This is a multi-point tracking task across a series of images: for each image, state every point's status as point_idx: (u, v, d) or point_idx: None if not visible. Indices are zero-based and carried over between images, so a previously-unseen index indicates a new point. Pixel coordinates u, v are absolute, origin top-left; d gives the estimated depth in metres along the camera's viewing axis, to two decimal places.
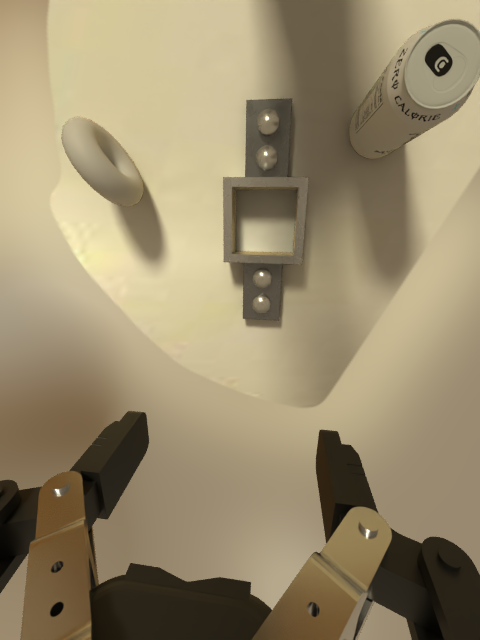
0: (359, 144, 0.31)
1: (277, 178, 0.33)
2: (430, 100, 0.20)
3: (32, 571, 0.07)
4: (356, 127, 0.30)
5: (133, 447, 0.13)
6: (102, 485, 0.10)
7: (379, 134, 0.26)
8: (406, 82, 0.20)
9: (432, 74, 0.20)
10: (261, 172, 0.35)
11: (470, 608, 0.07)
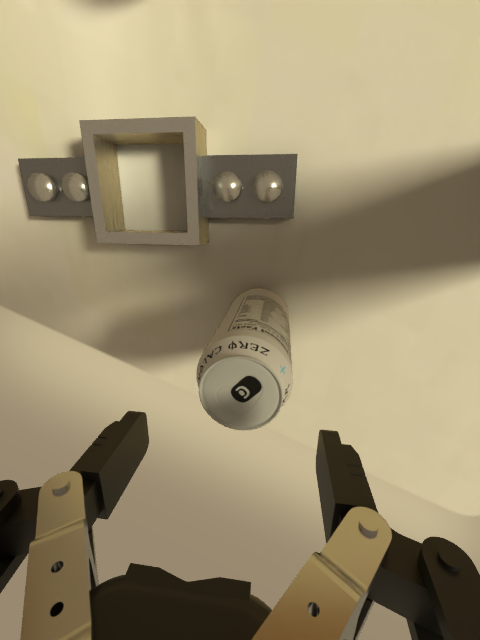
0: (235, 301, 0.27)
1: (196, 203, 0.25)
2: (207, 385, 0.17)
3: (32, 571, 0.07)
4: (248, 297, 0.26)
5: (133, 447, 0.13)
6: (102, 485, 0.10)
7: (219, 325, 0.22)
8: (226, 359, 0.16)
9: (232, 384, 0.17)
10: (211, 180, 0.26)
11: (470, 608, 0.07)
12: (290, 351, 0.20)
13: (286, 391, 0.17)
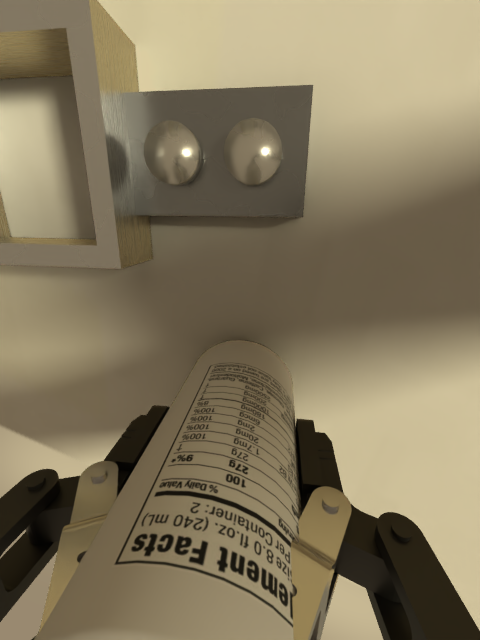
0: (195, 370, 0.15)
1: (108, 185, 0.12)
2: None
3: (61, 556, 0.07)
4: (216, 369, 0.13)
5: None
6: None
7: (140, 460, 0.10)
8: None
9: None
10: (144, 142, 0.13)
11: (422, 573, 0.07)
12: None
13: None
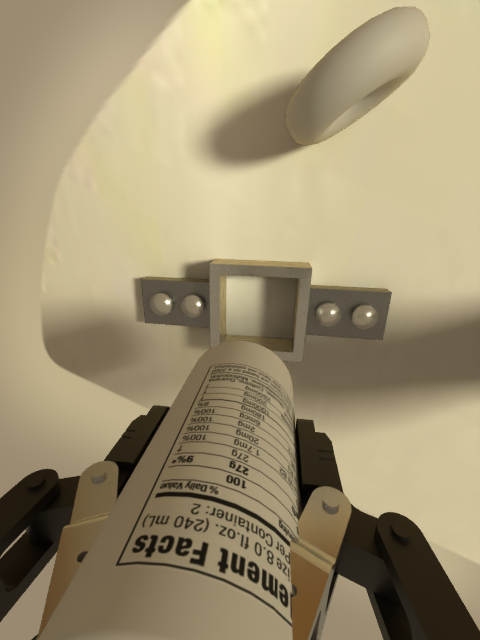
0: (195, 371, 0.15)
1: (304, 330, 0.29)
2: None
3: (61, 556, 0.07)
4: (216, 369, 0.13)
5: None
6: None
7: (140, 461, 0.10)
8: None
9: None
10: (313, 306, 0.30)
11: (422, 573, 0.07)
12: None
13: None
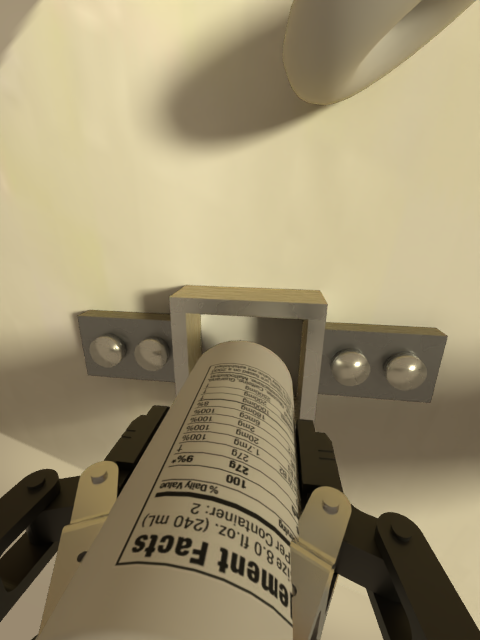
0: (195, 370, 0.15)
1: (315, 395, 0.19)
2: None
3: (61, 556, 0.07)
4: (216, 369, 0.13)
5: None
6: None
7: (140, 460, 0.10)
8: None
9: None
10: (327, 355, 0.20)
11: (422, 573, 0.07)
12: None
13: None
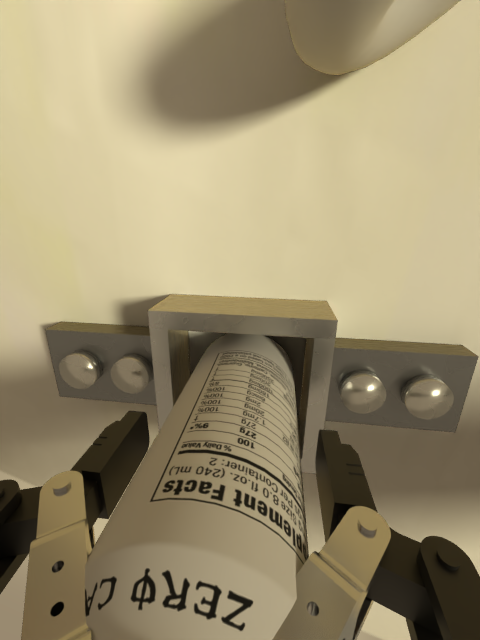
0: (204, 358, 0.16)
1: (321, 425, 0.16)
2: None
3: (33, 571, 0.07)
4: (224, 355, 0.15)
5: (134, 447, 0.13)
6: (103, 485, 0.10)
7: (160, 431, 0.11)
8: None
9: None
10: (335, 377, 0.17)
11: (469, 607, 0.07)
12: (304, 510, 0.09)
13: None
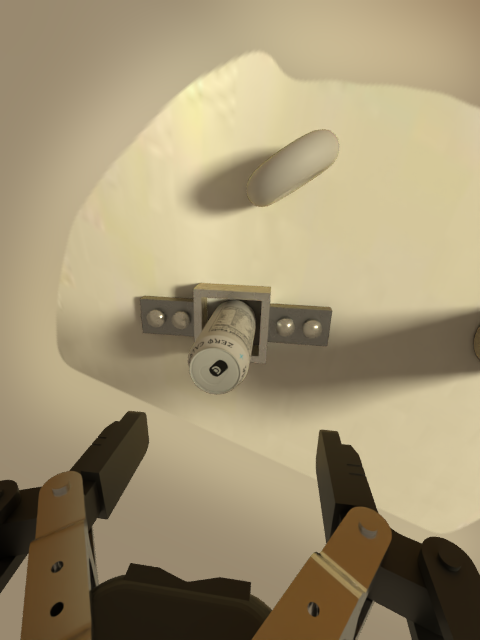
0: (216, 310, 0.38)
1: (266, 339, 0.38)
2: (194, 366, 0.27)
3: (32, 571, 0.07)
4: (225, 307, 0.36)
5: (133, 447, 0.13)
6: (102, 485, 0.10)
7: (203, 328, 0.33)
8: (206, 349, 0.26)
9: (210, 365, 0.27)
10: (274, 320, 0.39)
11: (470, 608, 0.07)
12: (250, 345, 0.31)
13: (244, 370, 0.28)
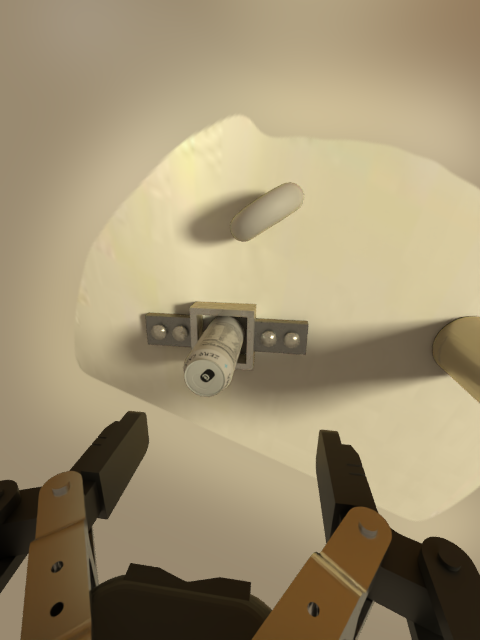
0: (209, 325, 0.44)
1: (252, 349, 0.44)
2: (188, 374, 0.34)
3: (32, 571, 0.07)
4: (216, 323, 0.43)
5: (133, 447, 0.13)
6: (102, 485, 0.10)
7: None
8: (197, 361, 0.33)
9: (200, 373, 0.34)
10: (259, 333, 0.46)
11: (470, 608, 0.07)
12: (235, 356, 0.37)
13: (228, 377, 0.34)
